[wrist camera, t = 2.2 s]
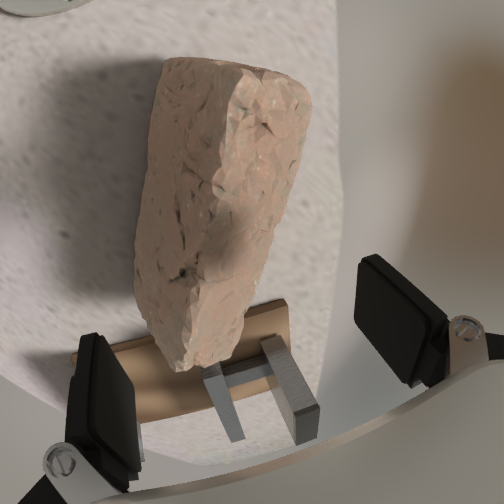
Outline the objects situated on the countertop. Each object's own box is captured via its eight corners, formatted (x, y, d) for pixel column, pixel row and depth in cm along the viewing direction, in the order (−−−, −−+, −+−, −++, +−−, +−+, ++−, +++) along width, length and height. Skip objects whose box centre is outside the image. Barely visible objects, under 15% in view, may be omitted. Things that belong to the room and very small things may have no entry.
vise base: (72, 354, 24) (66, 407, 19) (283, 298, 28) (312, 345, 23) (123, 419, 31) (127, 463, 26) (289, 375, 34) (309, 416, 29)
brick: (234, 365, 19) (167, 386, 17) (180, 285, 25) (124, 293, 22) (335, 91, 11) (241, 57, 9) (233, 67, 17) (161, 51, 14)
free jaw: (192, 336, 25) (214, 423, 18) (278, 310, 27) (322, 387, 20) (220, 407, 32) (241, 473, 25) (285, 387, 33) (315, 449, 26)
